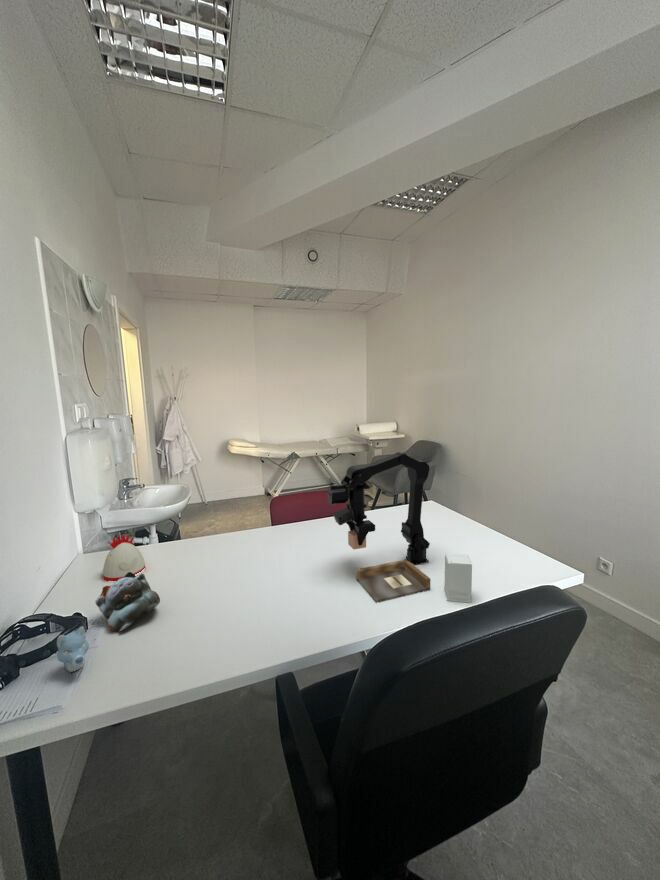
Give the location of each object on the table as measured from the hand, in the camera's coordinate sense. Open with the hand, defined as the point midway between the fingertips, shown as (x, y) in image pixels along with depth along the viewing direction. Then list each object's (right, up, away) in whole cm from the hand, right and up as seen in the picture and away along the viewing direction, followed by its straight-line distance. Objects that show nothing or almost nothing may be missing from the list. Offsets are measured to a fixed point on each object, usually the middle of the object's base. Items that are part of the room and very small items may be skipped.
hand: (357, 542), depth 131 cm
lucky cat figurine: (-70, -16, -24) cm, 76 cm away
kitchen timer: (-88, -13, +4) cm, 89 cm away
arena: (+11, -12, -9) cm, 19 cm away
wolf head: (-71, -19, -45) cm, 86 cm away
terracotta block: (0, -1, 0) cm, 1 cm away
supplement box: (+31, -13, -16) cm, 37 cm away
